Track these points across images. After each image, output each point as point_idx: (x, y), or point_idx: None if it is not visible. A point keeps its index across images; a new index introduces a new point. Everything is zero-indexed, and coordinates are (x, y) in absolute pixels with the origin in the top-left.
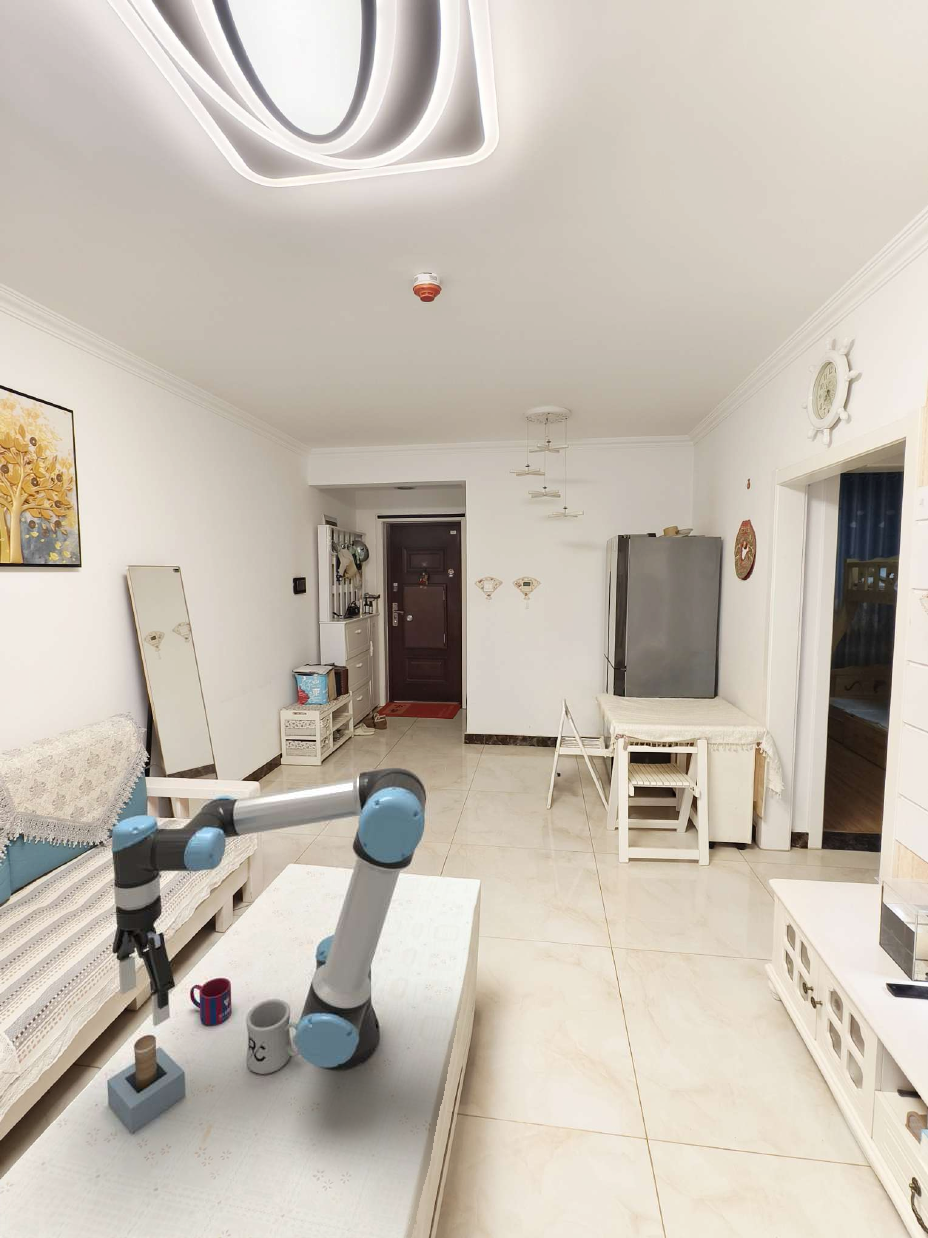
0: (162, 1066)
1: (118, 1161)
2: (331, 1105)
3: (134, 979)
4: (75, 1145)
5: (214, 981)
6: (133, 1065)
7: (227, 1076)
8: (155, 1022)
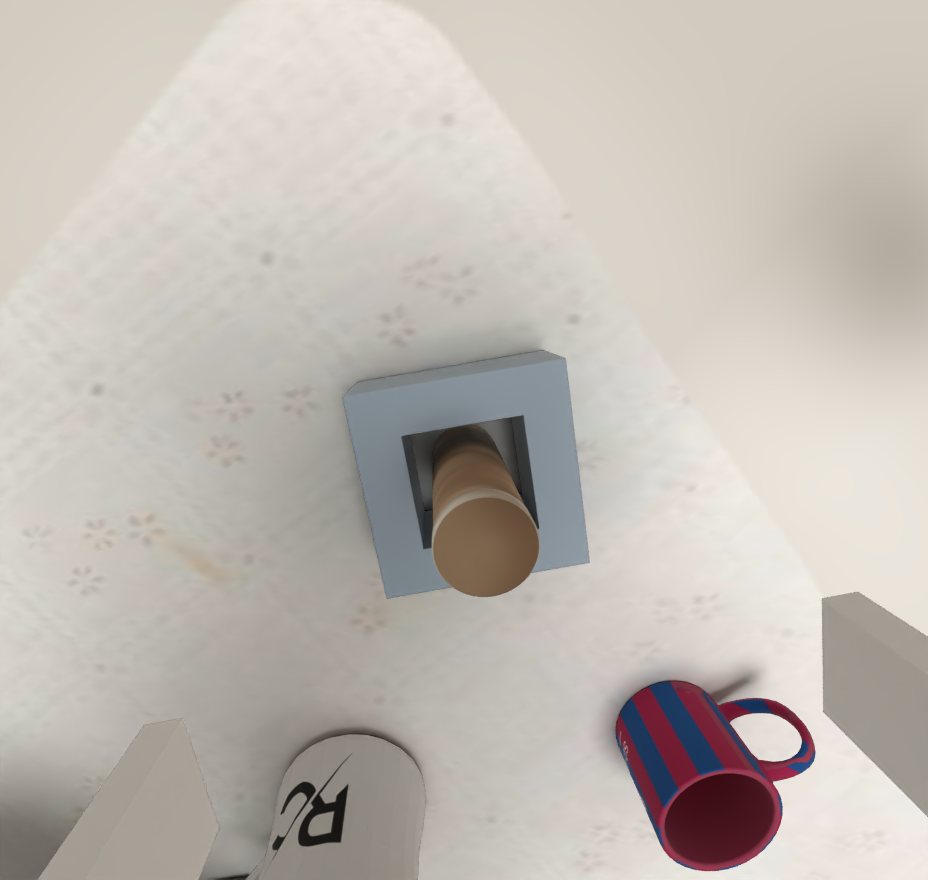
0: None
1: (280, 322)
2: None
3: (894, 771)
4: (446, 223)
5: (765, 825)
6: (567, 459)
7: (376, 673)
8: (124, 761)
